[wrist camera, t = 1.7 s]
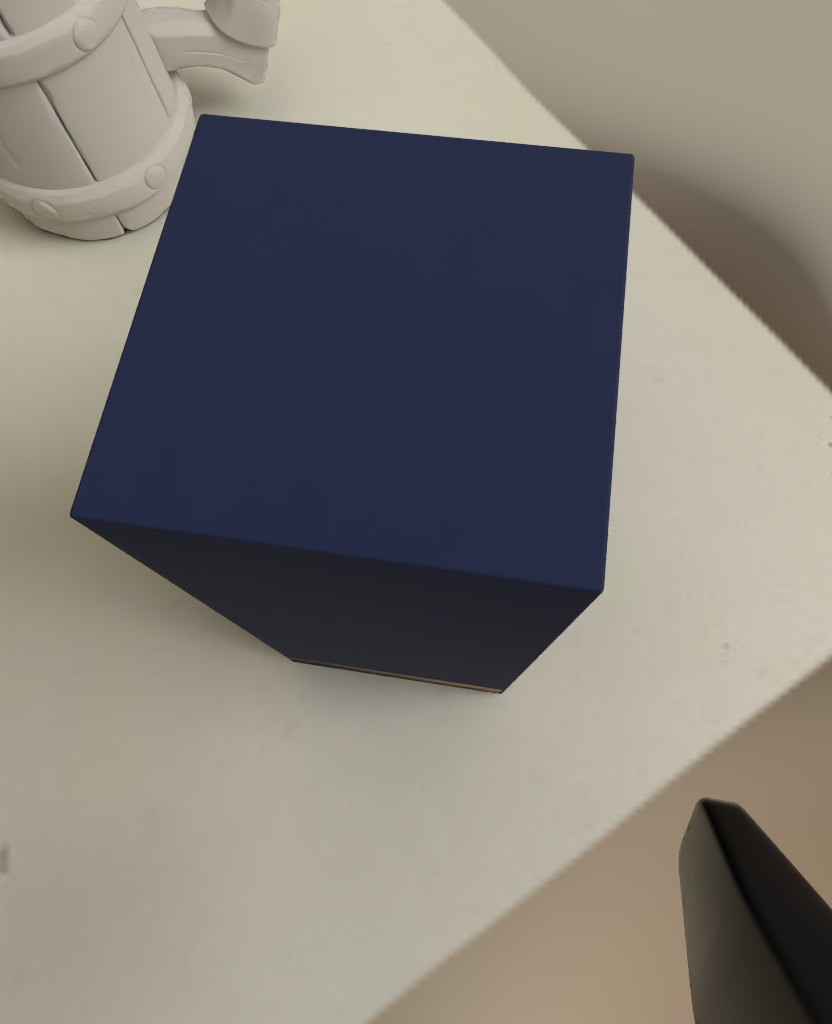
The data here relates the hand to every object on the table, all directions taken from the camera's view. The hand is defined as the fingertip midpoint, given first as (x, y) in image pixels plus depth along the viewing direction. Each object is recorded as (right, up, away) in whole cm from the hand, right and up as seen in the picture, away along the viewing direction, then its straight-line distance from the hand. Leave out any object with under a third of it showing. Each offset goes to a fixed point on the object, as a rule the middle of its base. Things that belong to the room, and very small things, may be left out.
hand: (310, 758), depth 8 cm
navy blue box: (+2, +4, +14) cm, 14 cm away
